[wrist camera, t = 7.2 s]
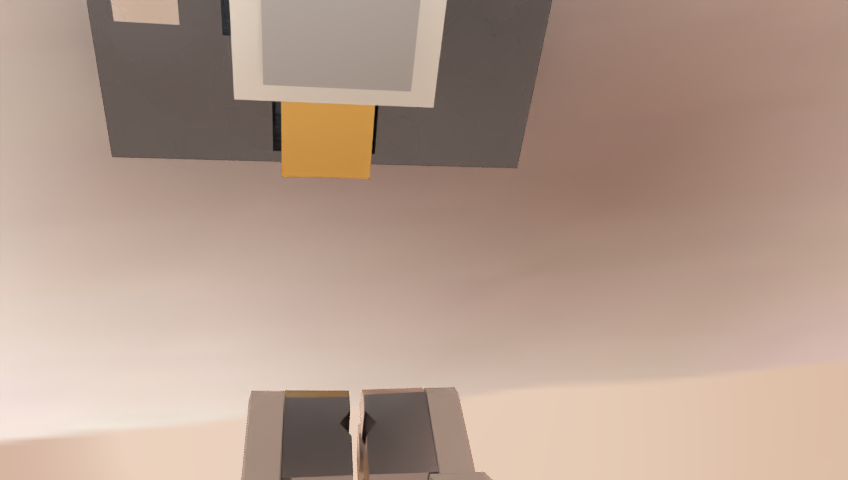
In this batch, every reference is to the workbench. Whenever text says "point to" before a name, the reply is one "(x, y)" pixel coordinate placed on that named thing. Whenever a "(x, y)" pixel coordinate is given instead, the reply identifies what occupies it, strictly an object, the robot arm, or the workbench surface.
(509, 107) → the panel
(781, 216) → the workbench surface
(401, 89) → the plug
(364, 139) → the plate
